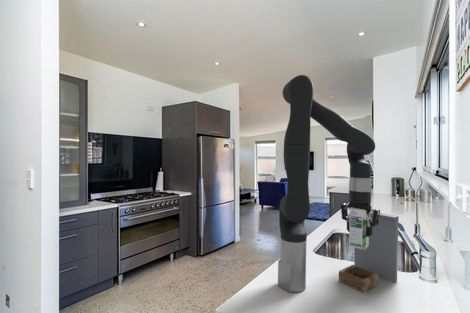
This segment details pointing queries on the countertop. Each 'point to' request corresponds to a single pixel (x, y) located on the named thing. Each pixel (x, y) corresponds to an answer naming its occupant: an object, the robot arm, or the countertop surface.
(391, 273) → the upright grey panel
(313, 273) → the countertop surface
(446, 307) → the countertop surface
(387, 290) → the countertop surface
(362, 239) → the syrup box
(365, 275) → the socket
